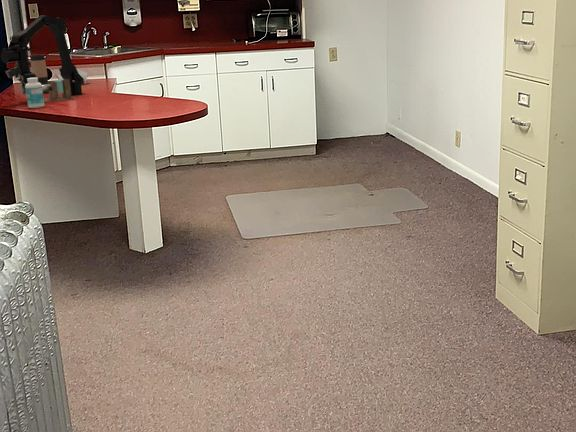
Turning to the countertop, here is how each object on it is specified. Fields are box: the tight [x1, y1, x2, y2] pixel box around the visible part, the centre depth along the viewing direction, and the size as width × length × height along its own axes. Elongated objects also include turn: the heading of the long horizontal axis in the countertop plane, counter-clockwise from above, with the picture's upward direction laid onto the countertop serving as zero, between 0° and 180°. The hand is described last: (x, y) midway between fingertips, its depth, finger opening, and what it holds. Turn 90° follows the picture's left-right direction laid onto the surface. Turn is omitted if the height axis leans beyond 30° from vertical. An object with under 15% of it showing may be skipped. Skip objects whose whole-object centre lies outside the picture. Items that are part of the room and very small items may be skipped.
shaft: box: [20, 84, 52, 95], centre depth 370 cm, size 19×4×4 cm, turn 122°
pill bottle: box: [25, 78, 45, 109], centre depth 350 cm, size 8×7×14 cm
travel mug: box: [29, 54, 49, 95], centre depth 404 cm, size 8×8×20 cm
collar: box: [52, 79, 64, 95], centre depth 375 cm, size 3×6×6 cm, turn 32°
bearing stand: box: [44, 80, 76, 103], centre depth 373 cm, size 20×10×9 cm, turn 122°
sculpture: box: [55, 68, 89, 85], centre depth 447 cm, size 25×19×10 cm
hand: (27, 93), depth 368 cm, fingers closed on shaft, 3 cm apart
